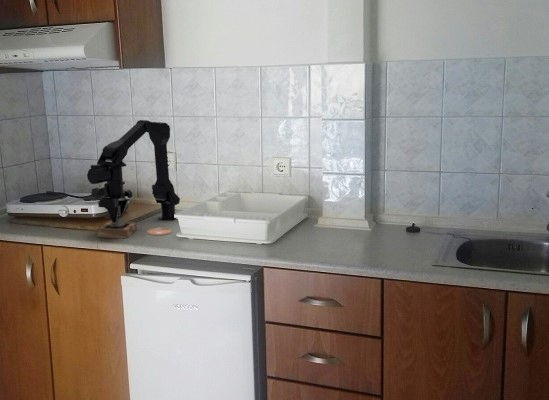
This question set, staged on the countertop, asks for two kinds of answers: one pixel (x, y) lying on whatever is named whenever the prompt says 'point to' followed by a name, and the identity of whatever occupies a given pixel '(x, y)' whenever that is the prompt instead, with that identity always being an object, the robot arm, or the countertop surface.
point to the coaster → (159, 231)
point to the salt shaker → (117, 222)
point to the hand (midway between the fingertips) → (117, 220)
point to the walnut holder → (117, 230)
